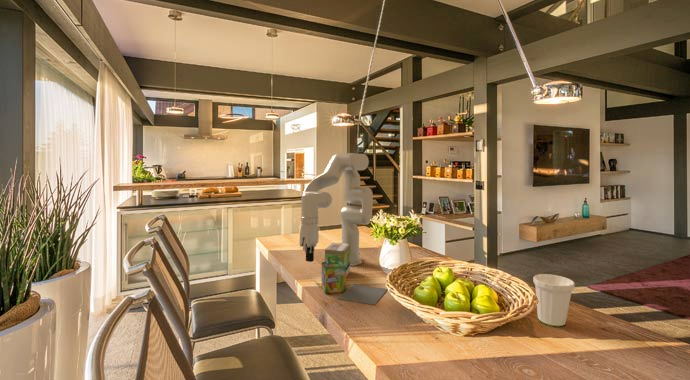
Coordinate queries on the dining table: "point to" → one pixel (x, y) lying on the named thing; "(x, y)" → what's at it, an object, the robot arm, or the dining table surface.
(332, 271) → the chalk box
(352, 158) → the robot arm
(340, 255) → the tea box
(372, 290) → the mat
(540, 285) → the cup
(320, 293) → the dining table surface
